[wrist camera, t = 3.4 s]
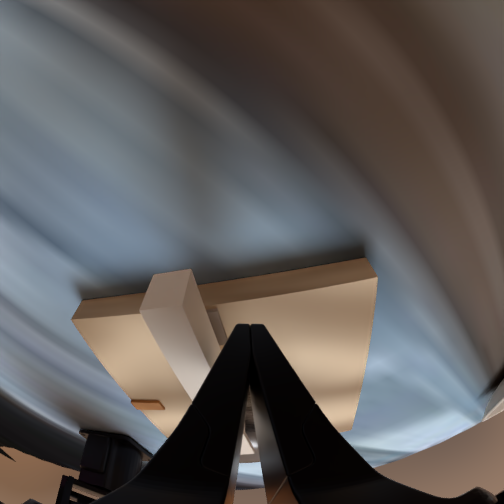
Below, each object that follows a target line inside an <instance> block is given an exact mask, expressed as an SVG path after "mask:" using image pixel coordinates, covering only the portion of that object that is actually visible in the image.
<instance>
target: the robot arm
mask: <svg viewBox="0 0 504 504" xmlns="http://www.w3.org/2000/svg"><path fill="white" fill-rule="evenodd" d="M249 389H250V398H251V404H252V411H253V418H254V424H255V431H256V437H257V443H258V450H259V456H260V462H261V468H262V474H263V480H264V486H265V492H266V497H267V503H268V504H504V490H502V491H501V492H499V493H498V494H496V495H493V494H492V493H490V492H489V491H487V490H485V489H483V488H481V487H475V488H473V489H472V490H470V491H468V492H466V493H464V494H462V495H460V496H458V497H456V498H441V497H437V496H433V495H431V494H427V493H425V492H422V491H419V490H416V489H414V488H411V487H408V486H406V485H403V484H401V483H398V482H395V481H393V480H391V479H389V478H387V477H385V476H383V475H381V474H380V473H378V472H377V471H376V470H375V469H373V468H372V467H371V466H370V465H369V464H368V463H367V462H366V461H365V460H364V459H363V458H362V457H361V456H360V455H359V453H358V452H357V451H356V450H355V449H354V448H353V447H352V446H351V445H350V444H349V443H348V442H347V441H346V440H345V439H344V438H343V436H342V435H341V434H340V433H339V432H338V431H337V430H336V428H335V427H334V426H333V425H332V424H331V422H330V421H329V420H328V418H327V417H326V416H325V414H324V413H323V411H322V410H321V409H320V407H319V406H318V404H315V403H316V401H315V400H314V399H313V397H312V396H311V394H310V393H309V391H308V390H307V388H306V387H305V385H304V384H303V382H302V381H301V379H300V378H299V376H298V375H297V373H296V372H295V371H294V369H293V368H292V366H291V365H290V363H289V362H288V360H287V359H286V357H285V356H284V354H283V352H282V351H281V349H280V348H279V346H278V345H277V343H276V342H275V340H274V339H273V337H272V336H271V334H270V333H269V331H268V330H267V328H266V327H265V325H264V324H251V325H249V324H242V323H238V324H236V325H235V327H234V329H233V331H232V332H231V334H230V336H229V338H228V340H227V341H226V343H225V345H224V347H223V348H222V350H221V352H220V354H219V355H218V357H217V359H216V361H215V363H214V364H213V366H212V368H211V370H210V371H209V373H208V375H207V377H206V378H205V380H204V382H203V384H202V385H201V387H200V389H199V391H198V392H197V394H196V396H195V397H194V399H193V401H192V404H191V405H190V406H189V408H188V409H187V411H186V413H185V414H184V416H183V417H182V419H181V421H180V422H179V424H178V425H177V427H176V428H175V430H174V431H173V432H172V434H171V435H170V436H169V438H168V439H167V440H166V441H165V443H164V444H163V445H162V446H161V447H160V449H159V450H158V451H157V452H156V453H155V455H154V456H152V455H150V454H149V453H148V452H147V451H145V450H144V449H143V448H142V447H140V446H139V445H138V444H137V443H136V442H134V441H133V440H132V439H131V438H129V437H127V436H123V435H114V434H107V433H100V432H94V431H88V430H82V429H80V431H79V434H80V435H82V436H83V437H84V438H86V439H87V440H86V444H85V448H84V452H83V455H82V459H81V463H80V467H81V470H80V475H79V479H78V480H77V479H74V477H72V476H69V477H68V476H65V475H63V476H62V480H61V484H60V488H59V492H58V496H57V499H56V504H233V501H234V494H235V487H236V481H237V474H238V467H239V460H240V453H241V446H242V439H243V431H244V424H245V417H246V409H247V402H248V394H249ZM142 461H149V462H148V463H147V464H146V465H145V467H144V468H143V469H142V470H141V466H142ZM72 487H73V488H75V489H78V490H80V491H83V492H86V493H88V494H91V495H94V496H96V497H99V499H98V500H95V499H93V498H90V497H87V496H84V495H82V494H79V493H76V492H74V491H72ZM70 499H72V500H74V501H72V500H70ZM75 501H77V502H75ZM0 504H4V503H2V502H1V501H0ZM23 504H42V503H39V502H37V501H35V500H33V499H29V500H27V501H26V502H24V503H23Z"/></svg>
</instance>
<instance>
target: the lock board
mask: <svg viewBox="0 0 504 504" xmlns="http://www.w3.org/2000/svg"><path fill="white" fill-rule="evenodd" d="M377 282H378V276H377V275H376V273H375V271H374V270H373V268H372V267H371V265H370V263H369V262H368V260H367V259H366V258H360V259H355V260H349V261H343V262H338V263H332V264H326V265H321V266H315V267H309V268H303V269H297V270H291V271H285V272H279V273H273V274H266V275H260V276H254V277H248V278H241V279H235V280H228V281H222V282H215V283H208V284H201V285H197V287H198V290H199V292H200V295H201V298H202V301H203V304H204V306H205V309H206V312H207V315H208V317H209V320H210V323H211V325H212V328H213V331H214V333H215V336H216V339H217V341H218V344H219V346H220V349H221V350H222V348H223V347H224V345H225V343H226V341H227V340H228V338H229V336H230V334H231V332H232V331H233V329H234V327H235V325H236V324H238V323H242V324H249V325H251V324H264V325H265V327H266V328H267V330H268V331H269V333H270V334H271V336H272V337H273V339H274V340H275V342H276V343H277V345H278V346H279V348H280V349H281V351H282V352H283V354H284V356H285V357H286V359H287V360H288V362H289V363H290V365H291V366H292V368H293V369H294V371H295V372H296V373H297V375H298V376H299V378H300V379H301V381H302V382H303V384H304V385H305V387H306V388H307V390H308V391H309V393H310V394H311V396H312V397H313V399H314V400H315V401H316V403H315V404H318V406H319V407H320V409H321V410H322V411H323V413H324V414H325V416H326V417H327V418H328V420H329V421H330V422H331V424H332V425H333V426H334V427H335V428H336V430H337V431H338V432H339V433H340V432H344V431H349V430H351V429H352V426H353V422H354V418H355V414H356V410H357V405H358V401H359V397H360V392H361V388H362V383H363V378H364V373H365V368H366V362H367V357H368V351H369V345H370V338H371V332H372V325H373V318H374V310H375V301H376V292H377ZM145 294H146V292H144V293H137V294H129V295H122V296H114V297H106V298H98V299H89V300H82V302H81V303H80V305H79V307H78V308H77V310H76V312H75V314H74V315H73V317H72V319H71V320H72V322H73V323H74V325H75V327H76V328H77V330H78V331H79V333H80V334H81V335H82V337H83V338H84V340H85V341H86V343H87V344H88V346H89V347H90V348H91V350H92V351H93V353H94V354H95V355H96V357H97V358H98V359H99V361H100V362H101V363H102V365H103V366H104V367H105V368H106V370H107V371H108V372H109V374H110V375H111V376H112V377H113V379H114V380H115V381H116V382H117V384H118V385H119V386H120V387H121V388H122V390H123V391H124V392H125V393H126V394H127V395H128V397H129V398H130V399H131V403H132V404H133V406H134V407H135V408H136V409H138V410H141V411H142V412H143V413H144V414H145V416H146V417H147V418H148V419H149V420H150V421H151V422H152V423H153V424H154V425H155V426H156V427H157V428H158V429H159V430H160V431H161V432H162V433H163V434H164V435H165V436H166V437H167V438H169V436H170V435H171V434H172V432H173V431H174V430H175V428H176V427H177V425H178V424H179V422H180V421H181V419H182V417H183V416H184V414H185V413H186V411H187V409H188V408H189V406H190V405H191V404H192V400H191V398H190V397H189V395H188V394H187V392H186V391H185V389H184V387H183V386H182V384H181V383H180V381H179V380H178V378H177V376H176V375H175V373H174V371H173V370H172V368H171V367H170V365H169V363H168V362H167V360H166V358H165V356H164V355H163V353H162V351H161V350H160V348H159V346H158V344H157V343H156V341H155V339H154V337H153V335H152V334H151V332H150V330H149V328H148V326H147V324H146V322H145V321H144V319H143V317H142V315H141V313H140V311H139V309H140V307H141V304H142V302H143V299H144V297H145Z"/></svg>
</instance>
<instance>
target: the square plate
mask: <svg viewBox="0 0 504 504" xmlns="http://www.w3.org/2000/svg"><path fill="white" fill-rule="evenodd" d="M503 410H504V379H503V380H502V382H501V383H500V384H499V386H498V387H497V389H496V390H495V391H494V393H493V394H492V396H491V398H490V400H489V402H488V404H487V407H486V409H485V413H484V416H483V419H482V422H484V421H486V420H487V419H489V418H491V417H493V416H494V415H496V414H498V413H500V412H502V411H503Z"/></svg>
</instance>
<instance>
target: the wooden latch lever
mask: <svg viewBox="0 0 504 504" xmlns="http://www.w3.org/2000/svg"><path fill="white" fill-rule="evenodd" d="M139 311H140V313H141V315H142V317H143V319H144V321H145V322H146V324H147V326H148V328H149V330H150V332H151V334H152V335H153V337H154V339H155V341H156V343H157V344H158V346H159V348H160V350H161V351H162V353H163V355H164V356H165V358H166V360H167V362H168V363H169V365H170V367H171V368H172V370H173V371H174V373H175V375H176V376H177V378H178V380H179V381H180V383H181V384H182V386H183V387H184V389H185V391H186V392H187V394H188V395H189V397H190V398H191V400H192V401H193V399H194V397H195V396H196V394H197V392H198V391H199V389H200V387H201V385H202V384H203V382H204V380H205V378H206V377H207V375H208V373H209V371H210V370H211V368H212V366H213V364H214V363H215V361H216V359H217V357H218V355H219V354H220V352H221V349H220V346H219V344H218V341H217V339H216V336H215V333H214V331H213V328H212V325H211V323H210V320H209V317H208V315H207V312H206V309H205V306H204V304H203V301H202V298H201V295H200V292H199V290H198V287H197V284H196V281H195V278H194V275H193V272H192V269H186V270H179V271H173V272H167V273H160V274H154V275H153V277H152V280H151V282H150V284H149V287H148V289H147V292H146V294H145V297H144V299H143V302H142V304H141V307H140V309H139ZM252 462H260V456H259V450H258V443H257V437H256V431H255V424H254V418H253V411H252V404H251V398H250V389H249V394H248V402H247V409H246V417H245V424H244V431H243V439H242V446H241V453H240V460H239V463H252Z"/></svg>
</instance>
